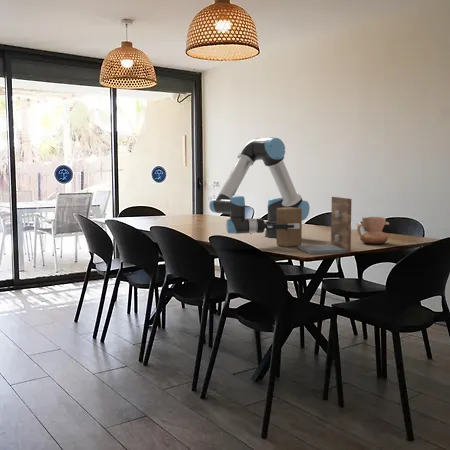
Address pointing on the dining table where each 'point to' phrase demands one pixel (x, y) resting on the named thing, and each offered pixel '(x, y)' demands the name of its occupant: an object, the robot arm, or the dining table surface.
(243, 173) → the robot arm
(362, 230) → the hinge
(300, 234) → the wooden block
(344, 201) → the cabinet side
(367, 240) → the ceramic jug
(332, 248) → the plate
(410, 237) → the dining table surface
